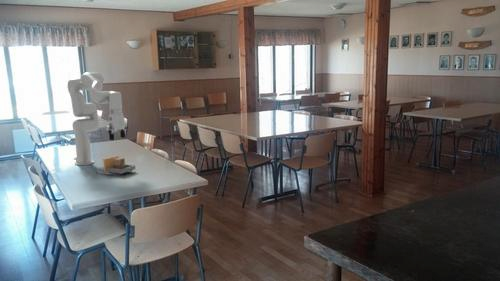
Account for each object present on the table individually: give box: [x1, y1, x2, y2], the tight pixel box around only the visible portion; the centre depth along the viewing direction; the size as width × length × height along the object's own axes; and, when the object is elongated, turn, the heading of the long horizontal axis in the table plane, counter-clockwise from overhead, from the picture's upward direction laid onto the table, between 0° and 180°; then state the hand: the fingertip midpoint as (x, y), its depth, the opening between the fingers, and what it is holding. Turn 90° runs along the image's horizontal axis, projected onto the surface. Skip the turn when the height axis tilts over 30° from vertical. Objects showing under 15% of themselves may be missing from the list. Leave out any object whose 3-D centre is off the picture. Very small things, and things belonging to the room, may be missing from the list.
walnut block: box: [113, 157, 126, 169], centre depth 260 cm, size 5×5×7 cm
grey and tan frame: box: [102, 154, 136, 175], centre depth 260 cm, size 14×13×9 cm
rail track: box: [96, 170, 137, 177], centre depth 263 cm, size 23×11×1 cm, turn 65°
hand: (117, 138), depth 258 cm, fingers open, 9 cm apart
